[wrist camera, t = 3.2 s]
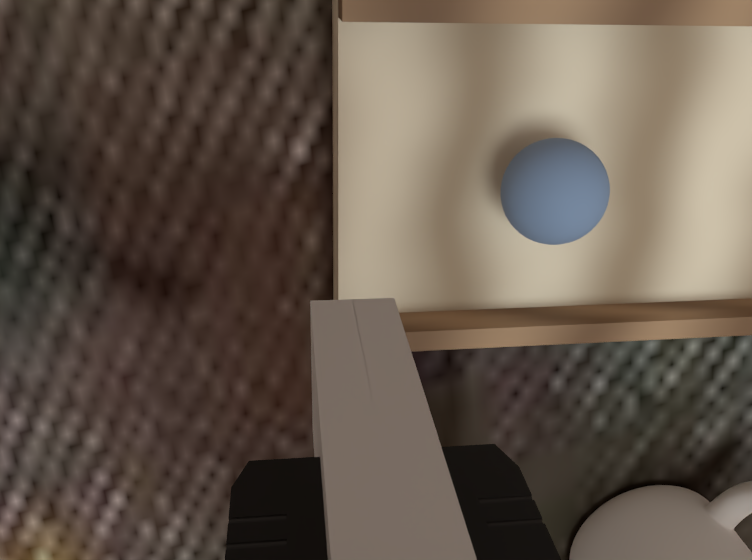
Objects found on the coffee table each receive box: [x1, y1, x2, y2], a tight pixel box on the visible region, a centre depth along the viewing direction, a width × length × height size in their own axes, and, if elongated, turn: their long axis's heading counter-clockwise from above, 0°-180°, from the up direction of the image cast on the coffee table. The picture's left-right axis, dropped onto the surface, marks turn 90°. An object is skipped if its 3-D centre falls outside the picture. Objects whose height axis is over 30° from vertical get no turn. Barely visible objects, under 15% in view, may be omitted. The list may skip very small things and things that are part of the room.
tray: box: [332, 0, 752, 351], centre depth 26 cm, size 30×12×4 cm, turn 88°
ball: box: [500, 138, 610, 245], centre depth 23 cm, size 4×4×4 cm
